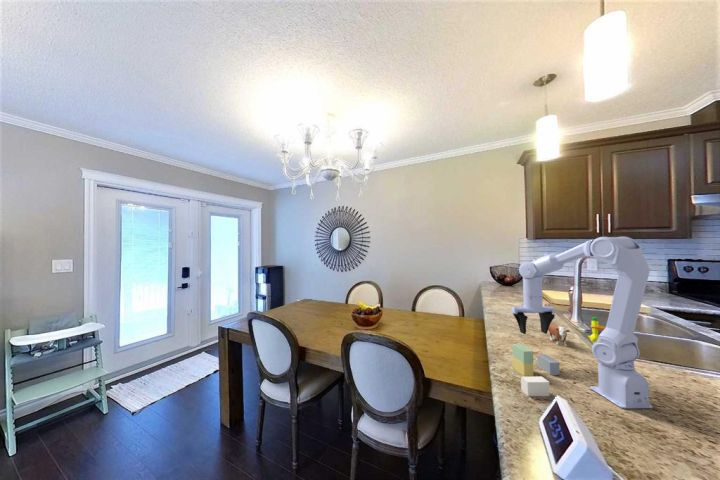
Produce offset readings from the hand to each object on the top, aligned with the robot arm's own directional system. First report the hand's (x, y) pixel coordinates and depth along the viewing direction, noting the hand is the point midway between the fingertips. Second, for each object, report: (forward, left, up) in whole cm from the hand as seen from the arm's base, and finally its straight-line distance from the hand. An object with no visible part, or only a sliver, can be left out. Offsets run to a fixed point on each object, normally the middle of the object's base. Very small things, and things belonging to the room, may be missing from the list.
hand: (533, 332), depth 93 cm
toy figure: (+10, -32, -10) cm, 35 cm away
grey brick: (-7, 0, -10) cm, 12 cm away
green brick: (-8, +9, -6) cm, 13 cm away
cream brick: (-20, +13, -10) cm, 26 cm away
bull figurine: (+15, -20, -10) cm, 27 cm away
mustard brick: (-8, +9, -10) cm, 16 cm away
